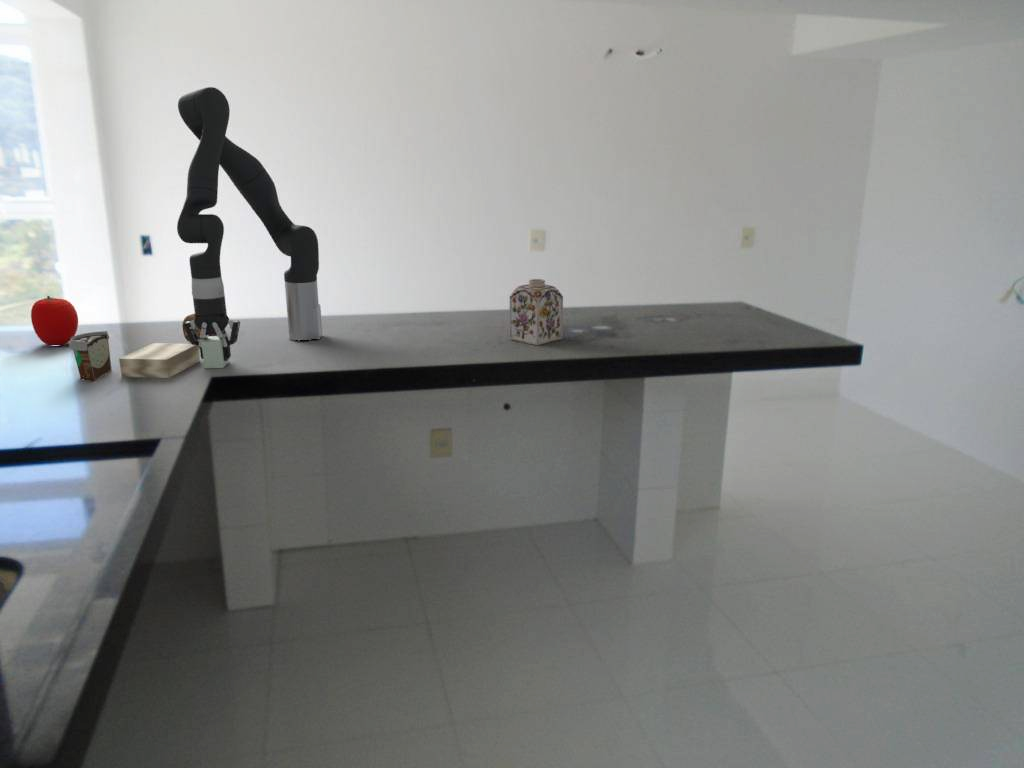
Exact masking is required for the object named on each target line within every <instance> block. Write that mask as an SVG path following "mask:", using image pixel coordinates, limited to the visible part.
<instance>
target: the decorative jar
mask: <svg viewBox="0 0 1024 768" xmlns="http://www.w3.org/2000/svg"><path fill="white" fill-rule="evenodd" d="M508 318H509V321H508V323H509V325H508V327H509V341H515V342H519V343H524V344H529V345H532V346H533V345H534V346H541V345H544V344H548V343H549V344H550V343H553V342H556V341H561V340H562V339H563V328H564V327H563V324H564V320H563V319H564V296H563V295H562V293H561V292H560V290H559V289H557V287H556V286H554V285H549V284H546V280H545V279H542V278H532V279H529V280H528V284H522V285H519V286H517V287H516V288H515V289H514V290H513V291H512V293H511V294H510V295H509V317H508Z"/></svg>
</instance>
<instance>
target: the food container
mask: <svg viewBox="0 0 1024 768" xmlns="http://www.w3.org/2000/svg"><path fill="white" fill-rule="evenodd" d="M109 339H110V336H109V333H108V331H107V330H106V331H104V330H103V331H92V332H85V333H80V334H77V335H76V334H75V336H74V337H72V338H71V340H70V341H69V344H68V345H69V349H70V350H72V351H73V355H74V359H75V362H76V365H77V369H78V373H79V377H80V380H82V379H84V380H90V381H89V382H96V381H97V379H98V378H99V379H100V377H101V378H102V377H104V376H106V375H107V374H109V373H111V372H112V370H113V369H112V362H111V354H110V353H111V352H110V343H109ZM105 374H106V375H105ZM99 379H98V380H99ZM84 380H83V381H84ZM95 380H96V381H95Z"/></svg>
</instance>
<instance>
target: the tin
mask: <svg viewBox="0 0 1024 768" xmlns="http://www.w3.org/2000/svg"><path fill="white" fill-rule="evenodd" d="M194 319H195V312H194V313H191V314H189V315H187V316H186V317H184V319H183V321H182V333H183V336H184V338H185V339H186V341H187V342H189V343H191V342H190V339H189V337H188V335H187V332H186V330H185V328H184V323H186V322H188V321H193V320H194ZM194 330H195V332H196V334H197V337H198V339H199V340H200V333H201V330H200V329H199V328H198V327H197V326H196V324H195V328H194ZM209 336H217V335H214V334H210V335H209ZM209 336H208V337H209Z"/></svg>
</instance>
